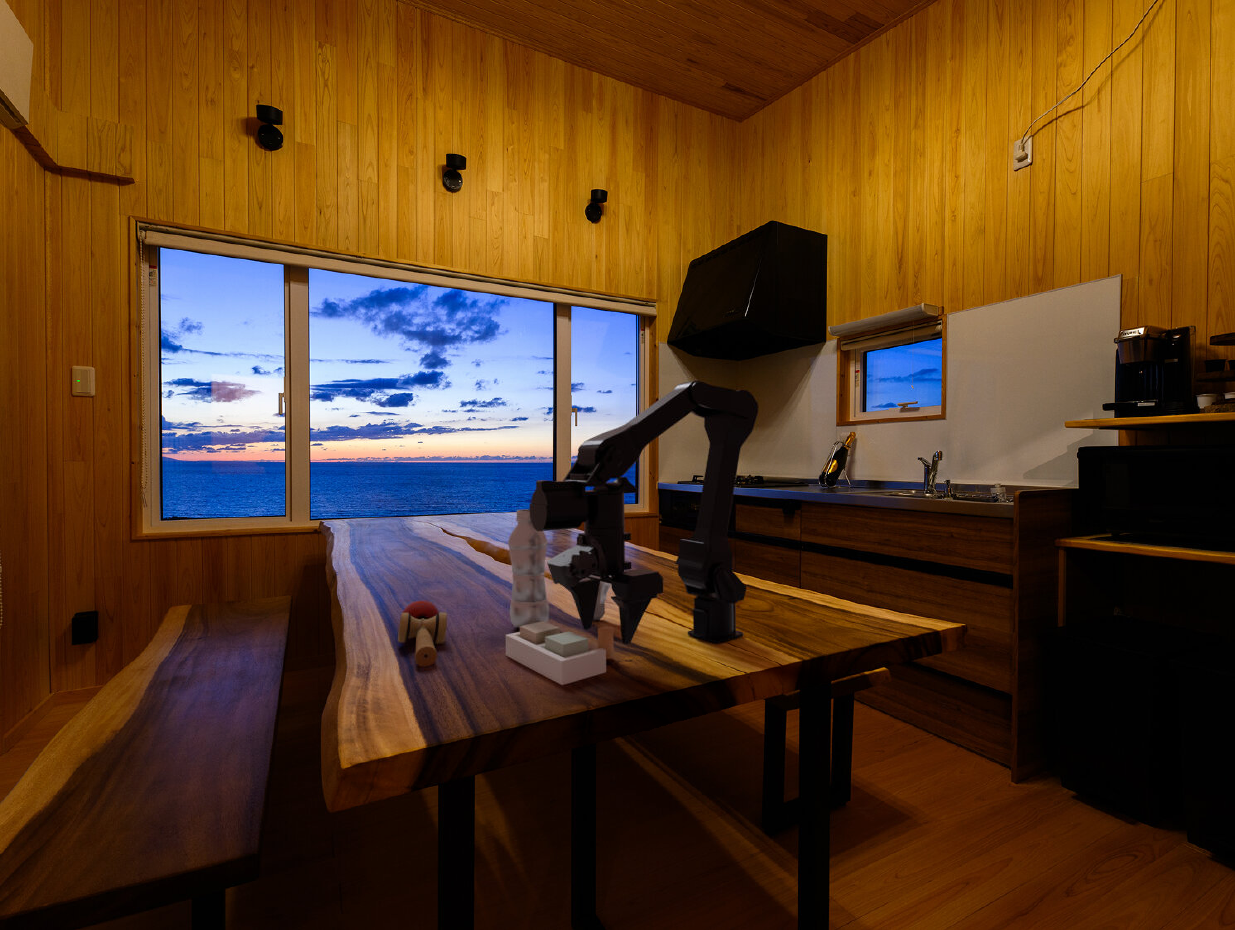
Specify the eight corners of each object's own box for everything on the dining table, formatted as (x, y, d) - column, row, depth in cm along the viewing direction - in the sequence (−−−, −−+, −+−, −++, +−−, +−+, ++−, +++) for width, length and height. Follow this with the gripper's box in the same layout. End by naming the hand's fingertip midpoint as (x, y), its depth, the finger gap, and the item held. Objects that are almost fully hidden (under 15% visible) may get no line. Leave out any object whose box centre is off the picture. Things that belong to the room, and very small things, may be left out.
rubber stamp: (602, 654, 86) (602, 623, 86) (621, 662, 83) (621, 630, 83) (545, 669, 80) (545, 636, 80) (563, 679, 77) (563, 644, 77)
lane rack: (546, 645, 91) (546, 625, 91) (606, 672, 79) (605, 649, 79) (505, 655, 86) (505, 634, 86) (561, 685, 75) (561, 661, 75)
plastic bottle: (542, 633, 97) (540, 511, 97) (503, 631, 98) (501, 511, 98) (554, 622, 103) (552, 508, 103) (517, 621, 105) (516, 508, 104)
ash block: (543, 651, 88) (543, 621, 88) (560, 658, 85) (559, 627, 85) (520, 657, 86) (519, 626, 86) (536, 665, 82) (535, 633, 82)
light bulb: (592, 613, 109) (591, 548, 109) (623, 618, 105) (622, 551, 105) (567, 622, 104) (566, 553, 104) (599, 628, 100) (598, 557, 99)
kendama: (460, 670, 84) (447, 622, 101) (452, 630, 83) (439, 587, 100) (404, 688, 82) (399, 635, 98) (394, 647, 80) (391, 600, 97)
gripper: (521, 525, 86) (523, 632, 86) (597, 537, 71) (599, 666, 72) (584, 519, 93) (586, 618, 93) (665, 529, 78) (667, 647, 78)
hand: (606, 636), depth 84 cm, fingers open, 9 cm apart
